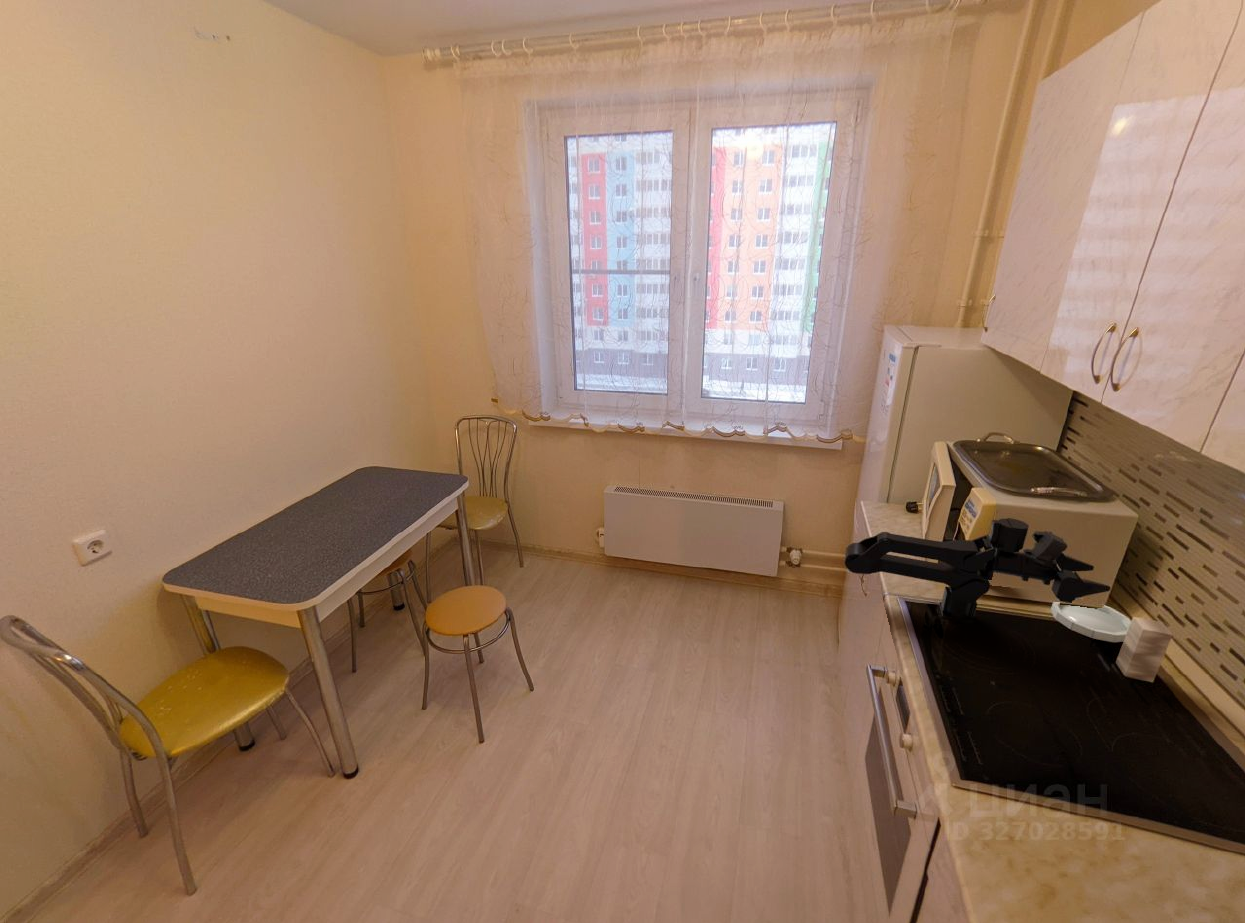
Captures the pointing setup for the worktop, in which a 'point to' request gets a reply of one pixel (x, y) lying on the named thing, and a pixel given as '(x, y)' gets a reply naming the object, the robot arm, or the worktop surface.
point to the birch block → (1143, 649)
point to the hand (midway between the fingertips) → (1101, 578)
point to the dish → (1093, 621)
